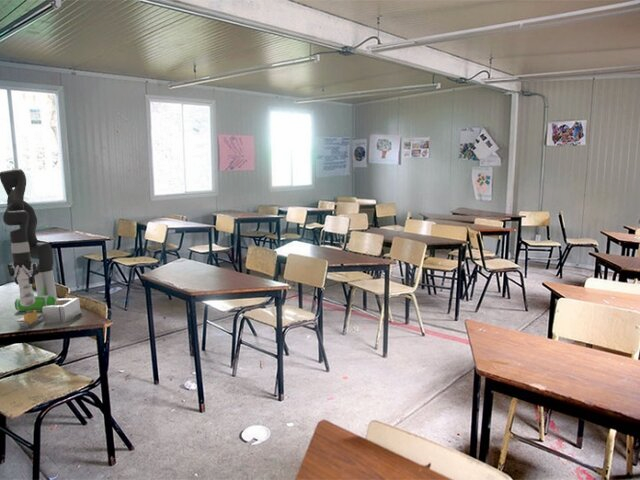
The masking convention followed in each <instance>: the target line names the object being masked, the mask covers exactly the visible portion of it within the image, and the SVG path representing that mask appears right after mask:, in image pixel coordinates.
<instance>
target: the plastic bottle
mask: <svg viewBox="0 0 640 480" xmlns="http://www.w3.org/2000/svg"><path fill="white" fill-rule="evenodd" d="M19 271H20V272H19V274H18V275H17V281H18V288H19V298H20V304H21V305H22V306H30V305H33V304H34V303H35V297H34V296H35V295H34V290H33V284H30V278H29V277H30V276H29V274H28V273H26V271H25V270H24V269H23V267H19Z"/></svg>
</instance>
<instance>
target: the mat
mask: <svg viewBox="0 0 640 480" xmlns="http://www.w3.org/2000/svg"><path fill="white" fill-rule="evenodd" d="M41 314H43V312H42V313H37V316H39V315H41ZM16 322H18V323H22V322H24V316H22V317H20V318H18V319H16Z"/></svg>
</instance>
